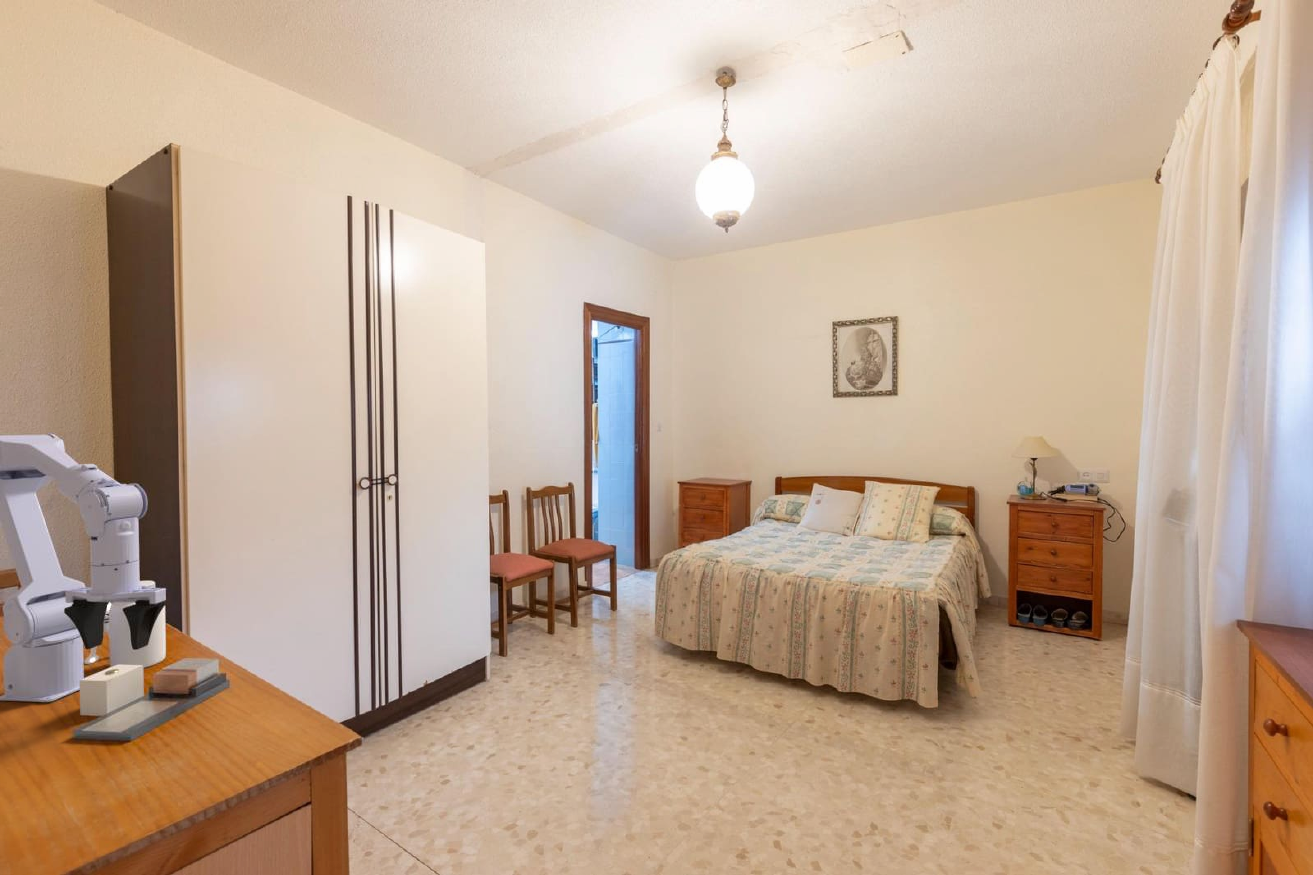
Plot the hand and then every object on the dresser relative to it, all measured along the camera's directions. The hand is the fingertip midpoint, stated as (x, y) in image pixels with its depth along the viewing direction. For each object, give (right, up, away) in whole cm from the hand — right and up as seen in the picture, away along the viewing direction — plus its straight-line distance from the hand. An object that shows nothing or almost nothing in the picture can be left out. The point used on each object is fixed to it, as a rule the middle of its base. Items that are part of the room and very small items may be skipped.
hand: (117, 647), depth 95 cm
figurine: (-20, -9, +20) cm, 30 cm away
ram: (+8, -8, +4) cm, 12 cm away
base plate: (+8, -9, -1) cm, 12 cm away
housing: (-1, -10, 0) cm, 10 cm away
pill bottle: (-11, -9, +17) cm, 22 cm away
